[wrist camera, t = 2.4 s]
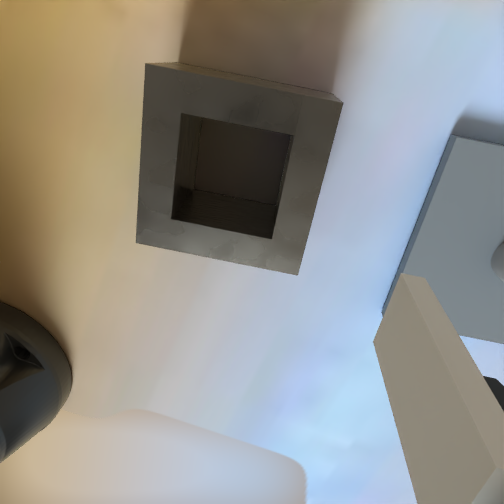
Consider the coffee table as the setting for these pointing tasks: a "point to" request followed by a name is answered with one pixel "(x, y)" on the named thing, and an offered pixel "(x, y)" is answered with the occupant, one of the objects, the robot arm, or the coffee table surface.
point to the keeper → (463, 239)
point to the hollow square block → (220, 206)
